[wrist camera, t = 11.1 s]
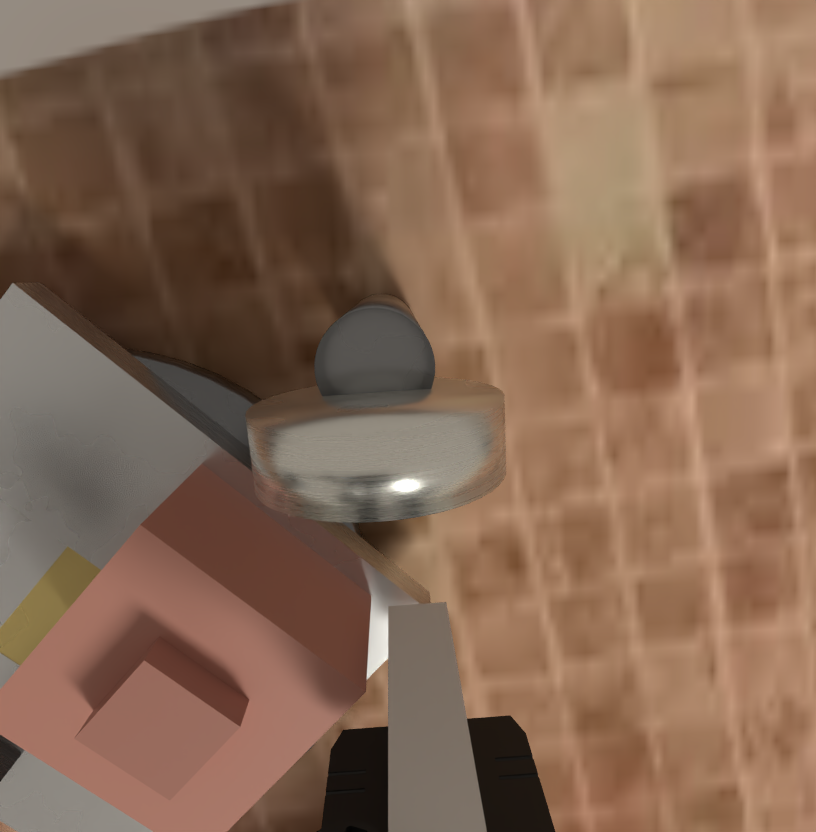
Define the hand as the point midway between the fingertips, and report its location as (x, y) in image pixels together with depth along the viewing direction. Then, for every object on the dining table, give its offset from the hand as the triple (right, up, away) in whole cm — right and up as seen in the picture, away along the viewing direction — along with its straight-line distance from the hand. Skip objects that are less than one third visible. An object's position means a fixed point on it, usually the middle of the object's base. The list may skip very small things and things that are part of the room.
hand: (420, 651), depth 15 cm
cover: (-6, +1, +1) cm, 6 cm away
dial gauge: (-1, +9, +2) cm, 9 cm away
